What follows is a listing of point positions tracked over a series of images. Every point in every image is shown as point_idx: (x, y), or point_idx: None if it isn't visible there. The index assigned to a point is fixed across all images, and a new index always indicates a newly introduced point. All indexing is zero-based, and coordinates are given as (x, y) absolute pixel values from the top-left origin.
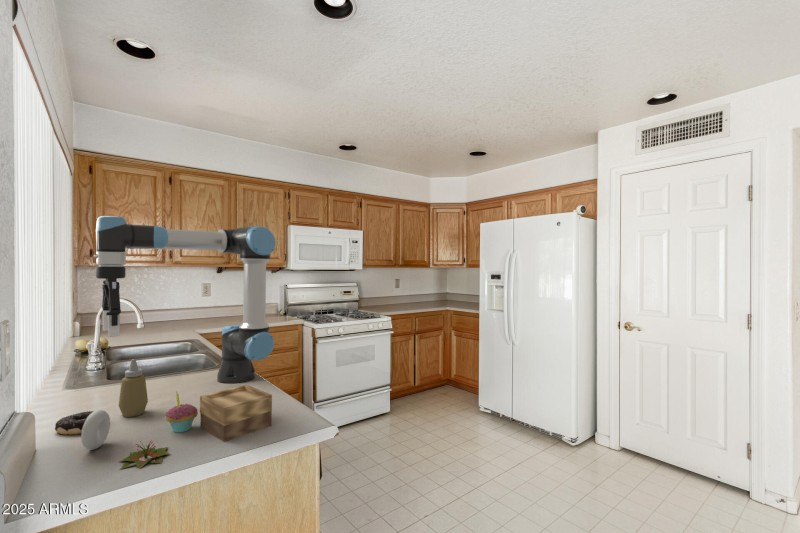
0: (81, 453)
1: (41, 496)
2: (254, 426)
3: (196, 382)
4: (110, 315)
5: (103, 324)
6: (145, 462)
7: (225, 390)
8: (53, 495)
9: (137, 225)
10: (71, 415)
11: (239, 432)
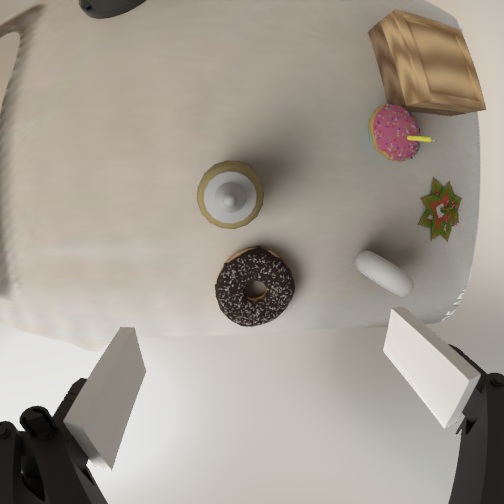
0: None
1: (442, 308)
2: None
3: (84, 56)
4: (459, 414)
5: (134, 395)
6: (455, 215)
7: (414, 50)
8: (448, 299)
9: None
10: (232, 307)
11: None
